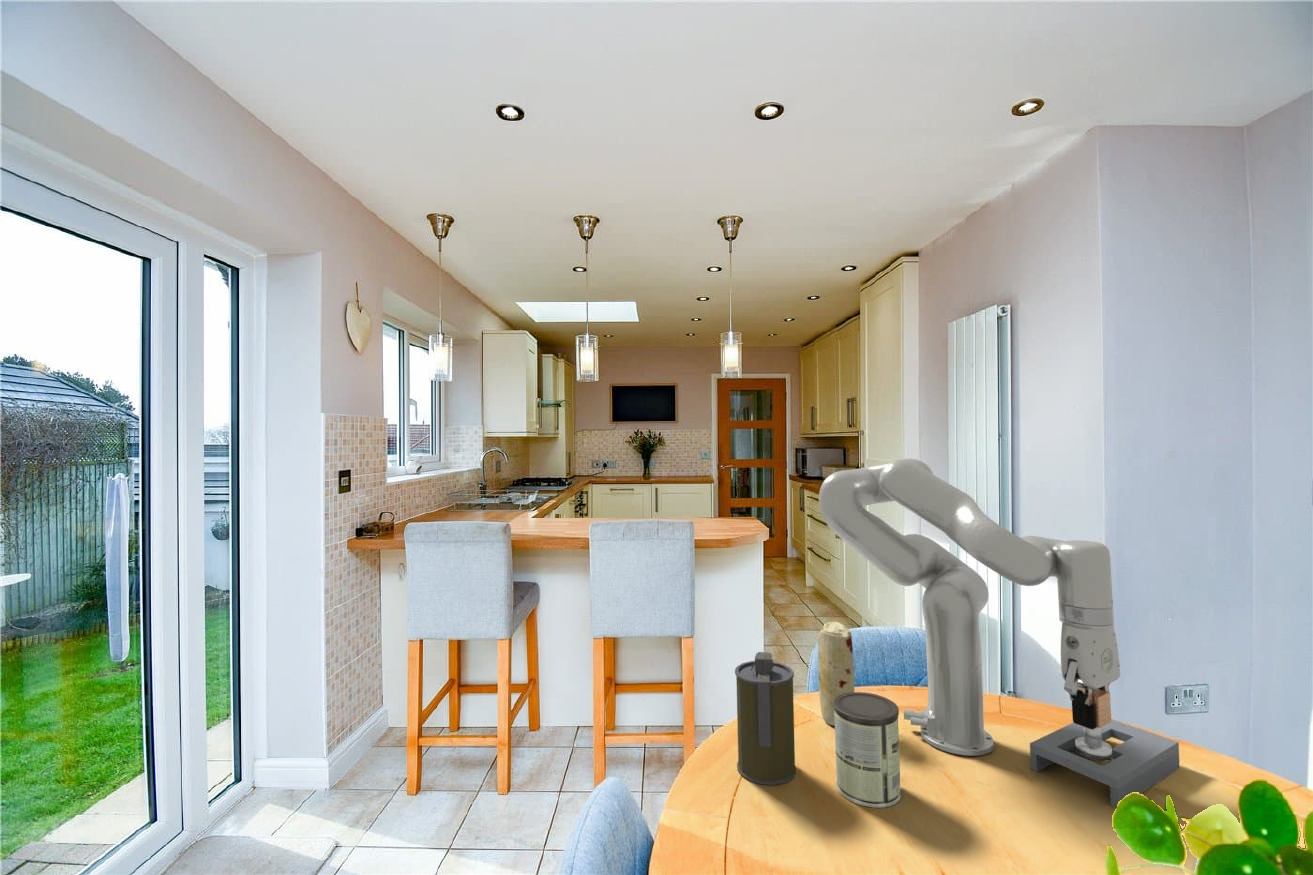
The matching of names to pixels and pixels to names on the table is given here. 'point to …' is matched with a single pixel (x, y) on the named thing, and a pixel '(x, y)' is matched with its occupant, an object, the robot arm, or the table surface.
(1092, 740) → the peg
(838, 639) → the food model
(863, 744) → the coffee can
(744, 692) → the canister
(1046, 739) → the keyhole board
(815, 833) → the table surface
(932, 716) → the robot arm
